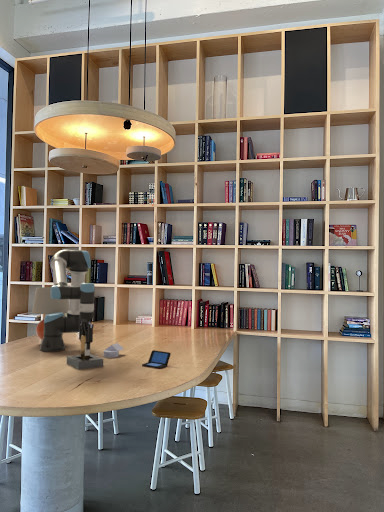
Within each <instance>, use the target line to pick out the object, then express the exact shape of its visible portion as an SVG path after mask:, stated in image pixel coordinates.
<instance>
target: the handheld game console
mask: <svg viewBox="0 0 384 512" xmlns="http://www.w3.org/2000/svg"><path fill="white" fill-rule="evenodd" d="M171 354H172V353H171V352H168V351H161V350H155V349H153V350H152V351H151V352H150V355H149V357H148V360H147V362H144V363H142V364H141V367H146V368H151V369H156V370H158V369H159V370H161V369H165V368H168V364H169V361H170V359H171Z"/></svg>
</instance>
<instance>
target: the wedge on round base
mask: <svg viewBox="0 0 384 512" xmlns="http://www.w3.org/2000/svg"><path fill="white" fill-rule="evenodd" d="M124 349H125V348H124V347H123V346H121V344H120V343H118V342H116V343H113V344H111V345H109V346H108V347H107V348H105V349H103V357H104V358H109V359H110V358H111V359H112V358H118V357H119V354H120V351H122V350H124Z"/></svg>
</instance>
